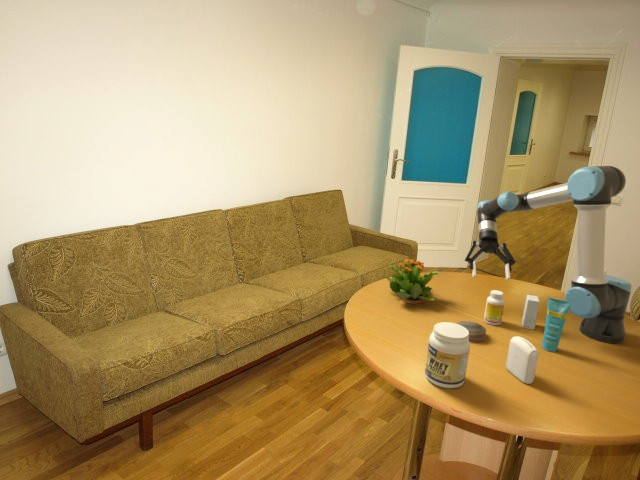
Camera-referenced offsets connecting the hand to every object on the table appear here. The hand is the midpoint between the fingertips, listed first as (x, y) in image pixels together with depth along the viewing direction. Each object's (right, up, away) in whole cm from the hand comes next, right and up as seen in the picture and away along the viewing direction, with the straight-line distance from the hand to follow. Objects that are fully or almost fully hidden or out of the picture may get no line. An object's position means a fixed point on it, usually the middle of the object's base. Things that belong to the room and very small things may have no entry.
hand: (491, 277), depth 191 cm
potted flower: (-30, -11, +12) cm, 34 cm away
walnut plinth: (-15, -20, -18) cm, 30 cm away
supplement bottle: (-2, -17, -6) cm, 18 cm away
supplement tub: (-32, -28, -47) cm, 63 cm away
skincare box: (+12, -19, -8) cm, 23 cm away
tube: (+12, -24, -25) cm, 36 cm away
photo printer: (-7, -28, -43) cm, 52 cm away
